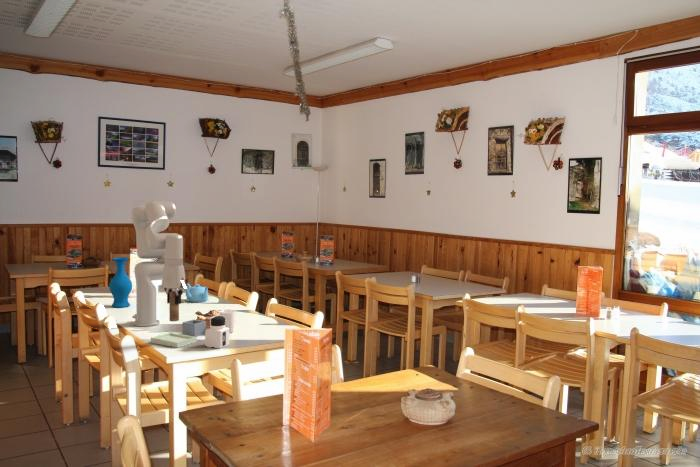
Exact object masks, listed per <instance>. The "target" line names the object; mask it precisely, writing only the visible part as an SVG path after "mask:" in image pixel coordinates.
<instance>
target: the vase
mask: <svg viewBox="0 0 700 467" xmlns="http://www.w3.org/2000/svg"><path fill="white" fill-rule="evenodd" d="M112 259H113V261H114V262H115V263H116V272H115V275H114V276H113V277H112V279H111V280H110V282H109V285H108V287H109V292H110V293H111V295H112V297H113V302H112V304H111V308H127V307H130V306H131V303H130V302H129V296H130V293H131V292H132V288H133V283H132V281H131V279H130V278H129V276H128V274H127V273H126V271H125V264H126V262H127V261H128V260H129V257H124V256H122V257H113V258H112Z"/></svg>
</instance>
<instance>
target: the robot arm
mask: <svg viewBox="0 0 700 467" xmlns="http://www.w3.org/2000/svg"><path fill="white" fill-rule="evenodd" d="M176 215H177V207H176V205H175V203H174V202H173V201H170V200H169V201H168V200H152V201H149V202H147V203H146V204H141V205H139V204H138V205H136V206H134V207H132V209H131V220H132V224H133V227H134V228H135V237H136V238H135V239H136V253H137V257H138V258H140V259H142V260H147V259H149V261H140V262H138V263H136V264H135V265H134V269H133V270H134V277H135V285H136V297H135V298H136V313H134V315H132V317H131V318H132V319H135V320H134V321H133V324H132V325H134V326H135V327H136V326H137V327H152V326H157V325H159V324H160V320H159V319H157V287H156V286H155V285H154V283H153V282H152V281H159V280H161V287H162V289H163V290H164V291H165V294H166V297H167V300H166V302H167V304H170V291H176V295H175V304H176V305H177V304H179V305H181V304H182V295H183V293H184V292H186V289H187V288H188V287H187V286H186V272H185V266H184V238H183V235H181V234H179V233H178V232H177V233H176V232H175V233H174V232H172V233H171V232H163V231H165V230H166V229H168V228H169V225H170V221H171V220H173V219H174V218H175V217H176ZM151 259H153V261H152V260H151ZM154 259H158V260H154ZM150 260H151V261H150ZM174 289H175V290H174Z"/></svg>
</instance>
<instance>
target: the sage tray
mask: <svg viewBox="0 0 700 467" xmlns="http://www.w3.org/2000/svg"><path fill="white" fill-rule="evenodd" d="M150 343H152V344H157V345H161V346H166V347H171V346H172V348H176V347H178V348H181V347H185V346H187V344H188V345H192V344H195V343H198V336H197V337H193V336H188V335H182V334H181V333H175V332H168V333H163V334H160V335H156V336H153V337H150ZM191 343H192V344H191ZM184 345H185V346H184Z"/></svg>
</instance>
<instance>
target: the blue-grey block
mask: <svg viewBox="0 0 700 467" xmlns="http://www.w3.org/2000/svg"><path fill="white" fill-rule="evenodd" d="M206 329H207V321H205V320H200V319H190V320H186V321H183V322H182V335H188V336H193V337H197V338H198V337H200V336H203V335H205V330H206Z"/></svg>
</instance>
